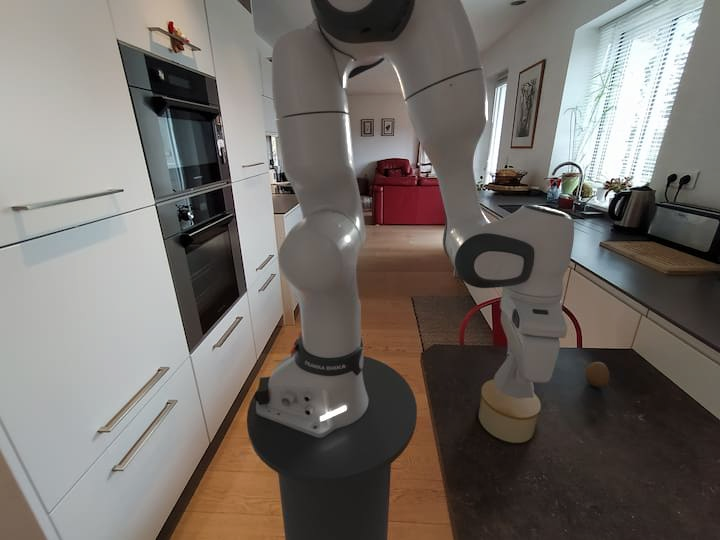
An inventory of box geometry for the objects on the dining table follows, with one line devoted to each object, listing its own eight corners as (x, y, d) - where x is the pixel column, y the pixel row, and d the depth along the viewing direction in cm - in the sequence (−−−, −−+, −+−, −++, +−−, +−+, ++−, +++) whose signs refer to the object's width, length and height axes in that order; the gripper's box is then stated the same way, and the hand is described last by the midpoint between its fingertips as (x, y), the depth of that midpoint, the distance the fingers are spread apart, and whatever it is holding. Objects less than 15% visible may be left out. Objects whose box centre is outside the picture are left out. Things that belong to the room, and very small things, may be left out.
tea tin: (480, 438, 60) (485, 412, 58) (474, 399, 70) (478, 375, 68) (542, 448, 58) (548, 422, 56) (526, 407, 67) (532, 382, 65)
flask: (489, 372, 65) (496, 328, 62) (528, 376, 64) (537, 332, 60) (496, 397, 58) (504, 349, 55) (539, 402, 57) (551, 354, 54)
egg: (610, 392, 72) (618, 369, 70) (590, 391, 72) (597, 369, 70) (597, 378, 76) (604, 357, 74) (578, 378, 76) (584, 356, 74)
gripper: (498, 279, 65) (489, 338, 70) (523, 329, 46) (508, 406, 51) (532, 281, 64) (520, 342, 69) (572, 334, 45) (552, 413, 50)
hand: (515, 370), depth 60 cm, fingers closed on flask, 5 cm apart
